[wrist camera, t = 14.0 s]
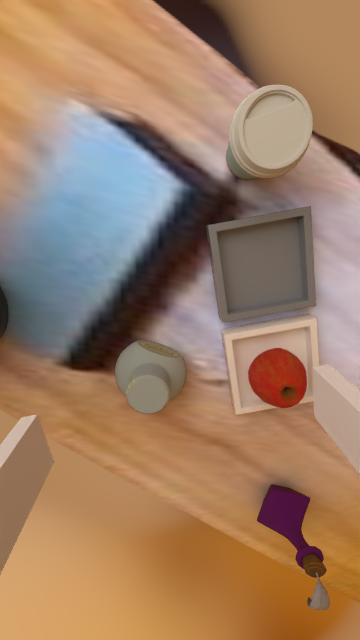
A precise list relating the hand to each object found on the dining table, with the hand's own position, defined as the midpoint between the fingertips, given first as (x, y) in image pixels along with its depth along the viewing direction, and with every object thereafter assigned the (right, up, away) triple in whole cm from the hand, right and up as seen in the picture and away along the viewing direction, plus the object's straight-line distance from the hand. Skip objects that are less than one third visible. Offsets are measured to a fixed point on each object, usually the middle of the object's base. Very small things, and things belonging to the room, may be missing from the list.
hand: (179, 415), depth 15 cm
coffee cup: (+9, +27, +28) cm, 40 cm away
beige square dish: (+15, -2, +36) cm, 39 cm away
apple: (+14, -2, +36) cm, 39 cm away
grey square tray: (+12, +13, +32) cm, 36 cm away
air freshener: (-5, -3, +36) cm, 36 cm away
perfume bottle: (+19, -29, +44) cm, 56 cm away
